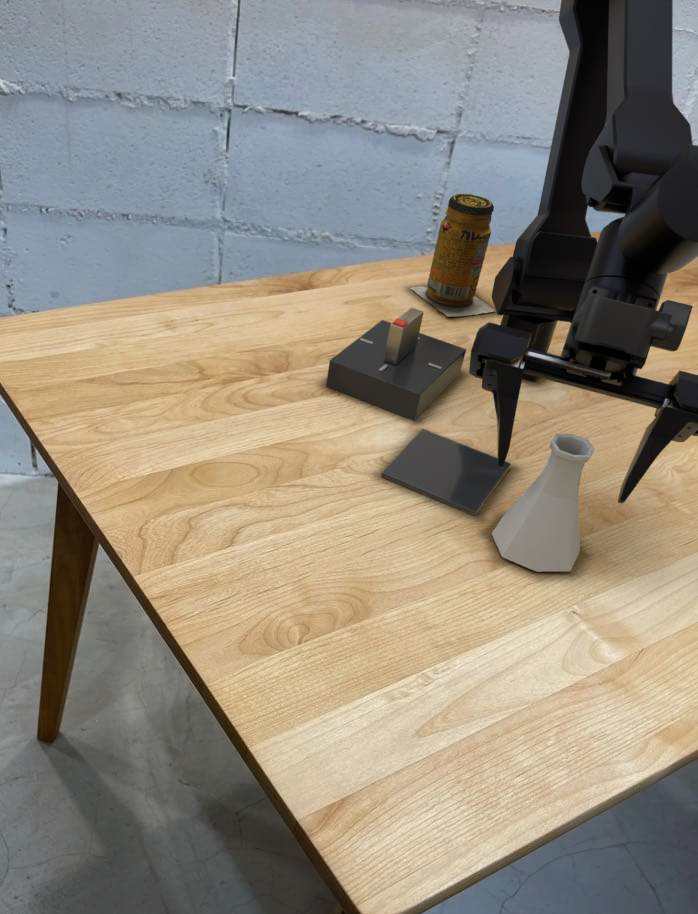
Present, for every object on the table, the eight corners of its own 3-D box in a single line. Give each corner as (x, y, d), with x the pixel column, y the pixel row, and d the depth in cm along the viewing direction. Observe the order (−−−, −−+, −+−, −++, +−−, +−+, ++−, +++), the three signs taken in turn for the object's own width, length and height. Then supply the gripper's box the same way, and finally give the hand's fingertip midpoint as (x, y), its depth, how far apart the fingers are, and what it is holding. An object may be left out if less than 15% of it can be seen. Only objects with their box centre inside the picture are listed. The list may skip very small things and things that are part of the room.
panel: (377, 344, 93) (382, 318, 91) (460, 374, 90) (467, 347, 88) (325, 386, 85) (329, 358, 83) (414, 421, 82) (420, 392, 80)
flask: (581, 583, 66) (626, 481, 59) (489, 564, 67) (524, 461, 60) (576, 527, 71) (617, 428, 65) (491, 510, 72) (523, 411, 66)
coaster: (421, 433, 80) (422, 428, 80) (510, 467, 77) (511, 463, 77) (380, 476, 74) (381, 472, 74) (474, 516, 71) (476, 511, 71)
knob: (404, 343, 88) (412, 305, 85) (416, 347, 87) (424, 309, 84) (383, 360, 84) (390, 321, 81) (395, 365, 84) (403, 326, 81)
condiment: (456, 283, 109) (479, 188, 101) (495, 312, 103) (522, 214, 95) (409, 289, 106) (429, 192, 98) (446, 319, 100) (470, 218, 93)
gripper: (509, 215, 59) (440, 422, 58) (789, 277, 55) (721, 502, 54) (499, 283, 70) (441, 459, 69) (732, 339, 66) (674, 527, 65)
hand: (559, 484), depth 64 cm, fingers open, 9 cm apart
